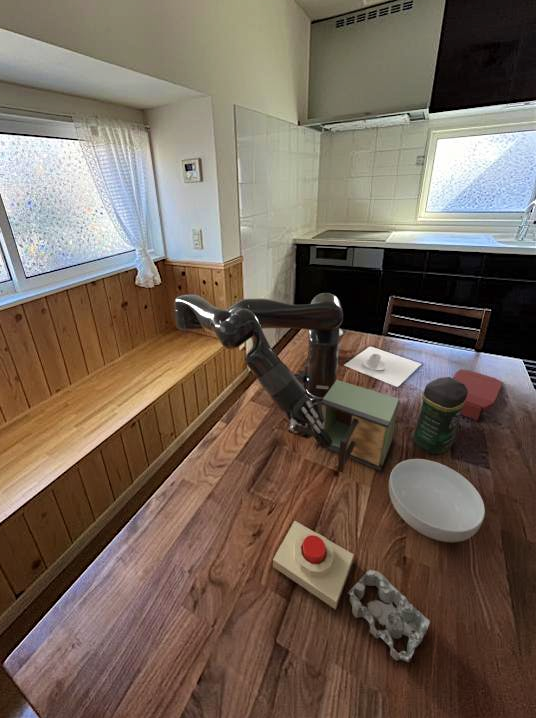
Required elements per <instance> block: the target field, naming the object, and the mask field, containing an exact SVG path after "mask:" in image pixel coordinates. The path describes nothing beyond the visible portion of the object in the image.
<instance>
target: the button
mask: <svg viewBox="0 0 536 718" xmlns="http://www.w3.org/2000/svg"><path fill="white" fill-rule="evenodd" d="M325 551H326V547H325V544H324V542H323V540H322V539H321V538H319V537H318V536H315V535H310V536H307V537H306V538H305V539H304V541H303V555H304V557H305V558H306V559H307V560H308V561H309V562H311V563H314V564H318V563H321V562H322V561H323V560H324V558H325Z"/></svg>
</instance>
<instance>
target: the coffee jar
mask: <svg viewBox="0 0 536 718" xmlns="http://www.w3.org/2000/svg"><path fill="white" fill-rule="evenodd" d="M467 394H468V390H467V388H466V386H465V385H464V384H463V383H461V382H459V381H457V380H455V379H453V377H450V376H445V377H444V376H443V377H439V378H436V379H434V380H432V381H430V382H428V383H427V384H426V385H425V387H424V391H423V393H422V404H421V408H420V411H419V416H418V418H417V422H416V424H415V425H416V426H415V427H414V428H415V429H414V432H413V436H412V440H413V441H414V443H415V444H416V445H417V446H418V447H420V449H422V450H424V451H425V452H427V453H430V454H432V455H441V454H443V453H445V452H447V451H448V450H449V449H451V447H453V445H454V442H455V438H456V434H457V430H458V425H459V422H460V418H461V412H462V409H463V406H464V404H465V401H466V398H467Z"/></svg>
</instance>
